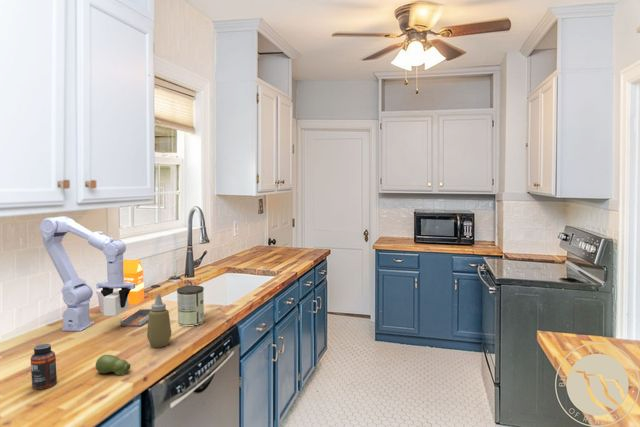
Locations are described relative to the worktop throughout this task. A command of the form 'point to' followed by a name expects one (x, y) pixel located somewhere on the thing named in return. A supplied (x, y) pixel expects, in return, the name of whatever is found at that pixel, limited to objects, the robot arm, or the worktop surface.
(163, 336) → the squeeze bottle
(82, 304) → the robot arm
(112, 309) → the white rectangular block
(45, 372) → the supplement bottle
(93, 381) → the worktop surface
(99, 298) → the smoothie
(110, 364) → the green lumpy rounded piece
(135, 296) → the orange juice
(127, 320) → the dark grey tray
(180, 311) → the coffee can
